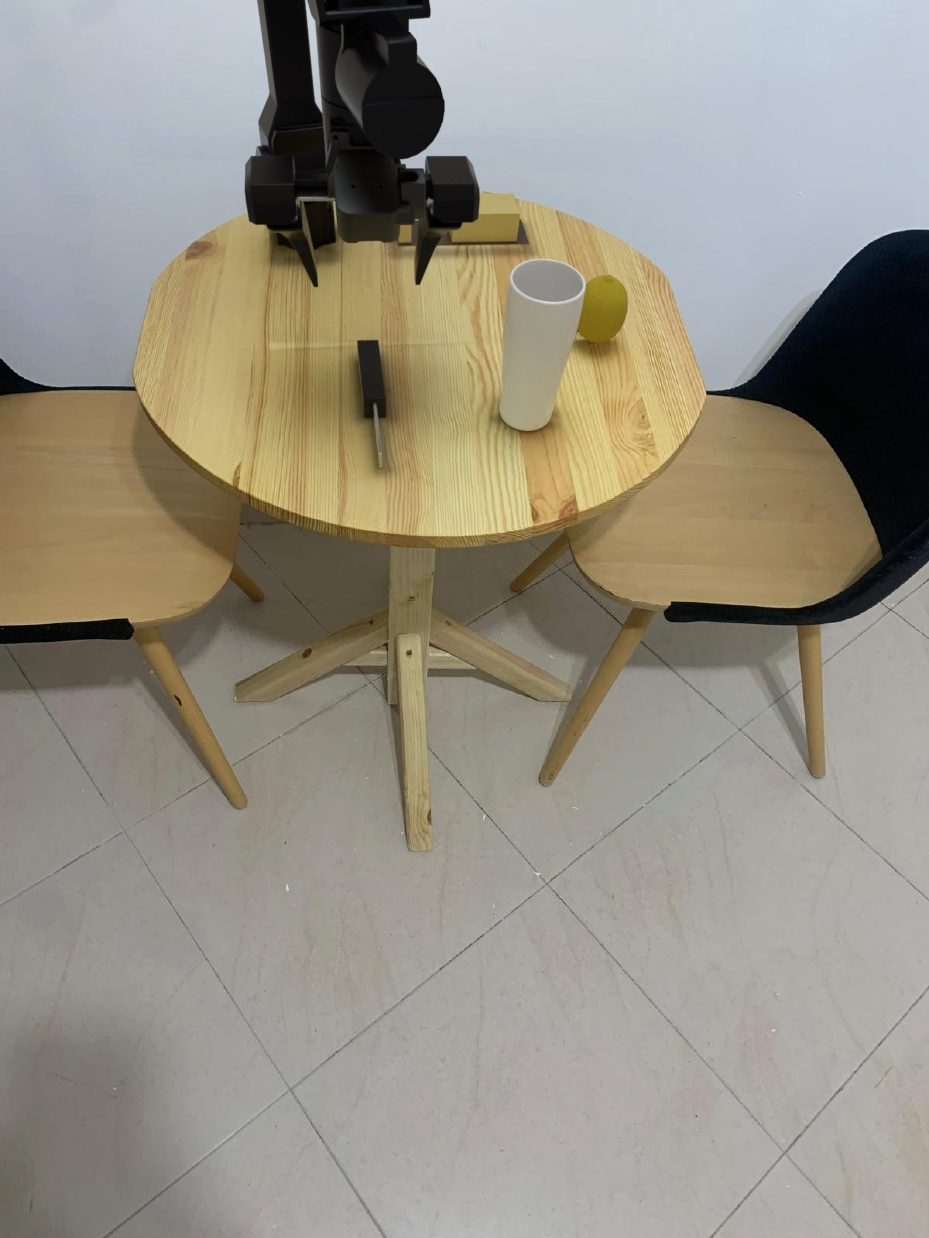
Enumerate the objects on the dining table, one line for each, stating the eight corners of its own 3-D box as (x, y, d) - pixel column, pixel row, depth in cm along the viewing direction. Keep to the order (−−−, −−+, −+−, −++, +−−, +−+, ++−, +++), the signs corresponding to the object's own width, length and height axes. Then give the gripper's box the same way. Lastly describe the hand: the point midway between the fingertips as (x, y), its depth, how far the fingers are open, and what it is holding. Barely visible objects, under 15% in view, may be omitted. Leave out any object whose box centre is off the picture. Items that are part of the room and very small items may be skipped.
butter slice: (398, 243, 92) (398, 214, 89) (395, 222, 94) (394, 194, 92) (411, 243, 92) (411, 214, 89) (407, 222, 95) (407, 193, 92)
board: (398, 254, 93) (398, 246, 92) (394, 228, 96) (394, 220, 95) (528, 252, 95) (529, 244, 94) (520, 226, 98) (521, 219, 97)
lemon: (620, 360, 84) (638, 294, 78) (569, 356, 84) (584, 290, 77) (615, 328, 87) (633, 262, 81) (567, 325, 87) (580, 258, 80)
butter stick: (451, 242, 93) (453, 214, 90) (447, 222, 95) (448, 193, 92) (516, 241, 94) (520, 213, 91) (510, 221, 96) (513, 193, 94)
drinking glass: (499, 442, 76) (518, 306, 64) (485, 396, 80) (500, 259, 67) (565, 435, 77) (597, 301, 65) (548, 390, 81) (574, 255, 68)
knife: (369, 469, 73) (368, 450, 71) (357, 359, 81) (356, 340, 79) (392, 467, 73) (392, 449, 71) (378, 358, 82) (378, 339, 80)
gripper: (227, 146, 52) (262, 343, 65) (499, 147, 54) (480, 336, 67) (231, 72, 58) (262, 266, 71) (476, 76, 60) (463, 262, 73)
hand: (367, 283), depth 71 cm, fingers open, 9 cm apart
